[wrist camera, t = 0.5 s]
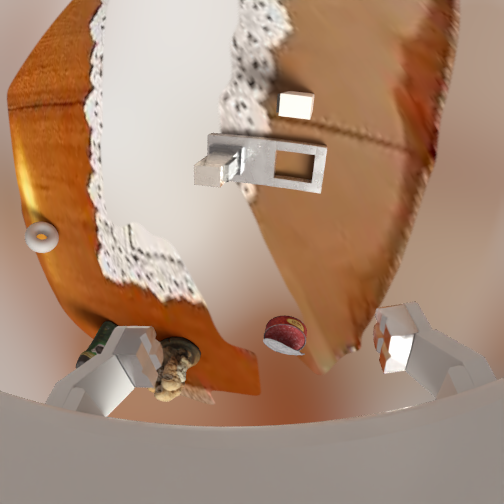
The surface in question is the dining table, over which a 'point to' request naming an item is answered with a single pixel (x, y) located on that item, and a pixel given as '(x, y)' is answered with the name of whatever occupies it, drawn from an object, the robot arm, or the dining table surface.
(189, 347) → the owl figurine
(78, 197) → the dining table surface
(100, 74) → the dining table surface
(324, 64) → the dining table surface
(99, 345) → the coffee jar
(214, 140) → the steel rail
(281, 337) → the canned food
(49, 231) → the donut
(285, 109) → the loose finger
